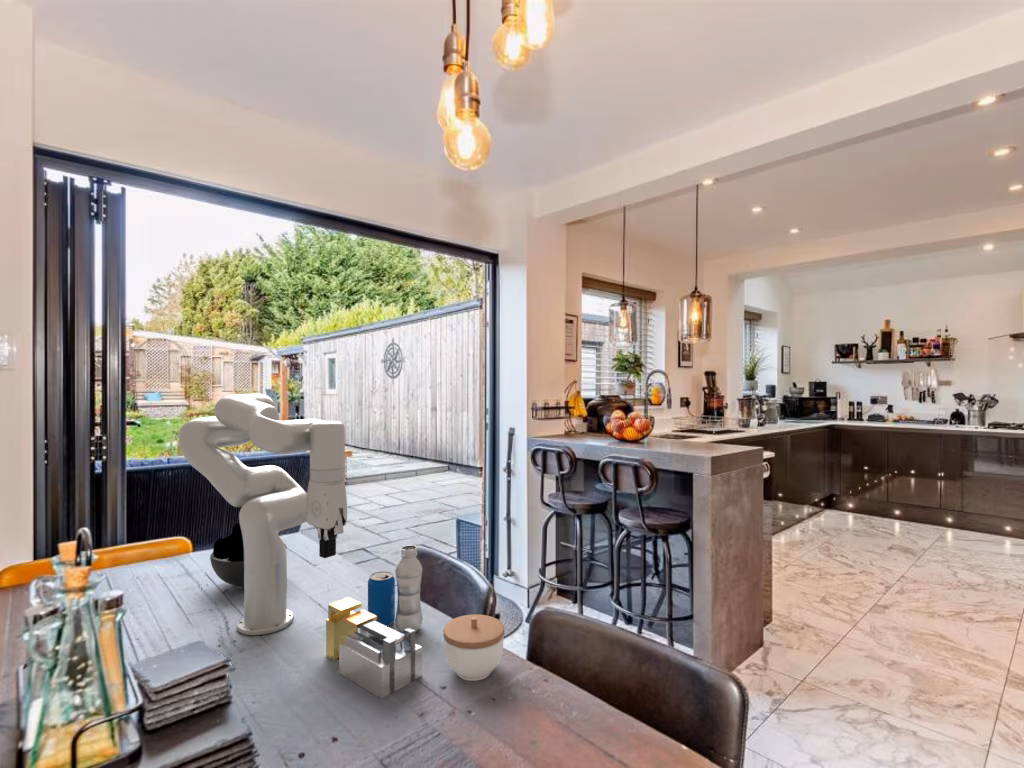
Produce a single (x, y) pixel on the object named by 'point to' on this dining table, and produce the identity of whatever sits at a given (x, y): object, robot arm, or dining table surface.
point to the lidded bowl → (473, 645)
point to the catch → (339, 624)
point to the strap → (373, 626)
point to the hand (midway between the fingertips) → (327, 555)
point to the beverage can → (382, 597)
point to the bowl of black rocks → (230, 557)
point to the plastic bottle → (408, 590)
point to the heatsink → (380, 662)
